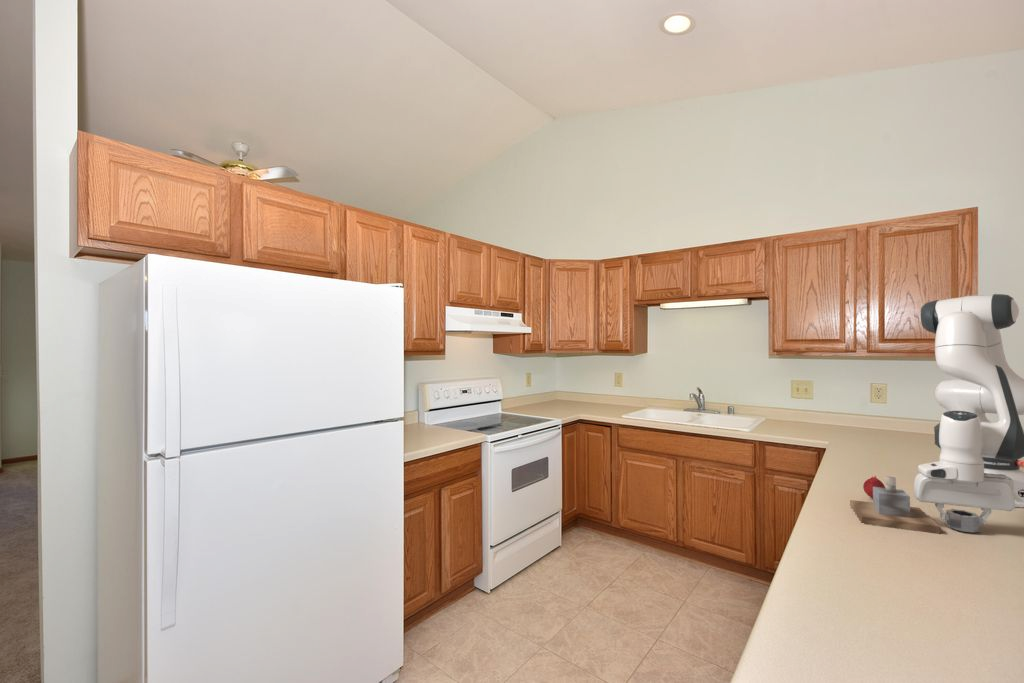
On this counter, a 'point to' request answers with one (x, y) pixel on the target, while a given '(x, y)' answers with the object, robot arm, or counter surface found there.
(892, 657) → the counter surface
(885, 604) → the counter surface
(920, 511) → the post stand
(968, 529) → the collar
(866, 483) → the red rounded piece
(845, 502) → the counter surface
